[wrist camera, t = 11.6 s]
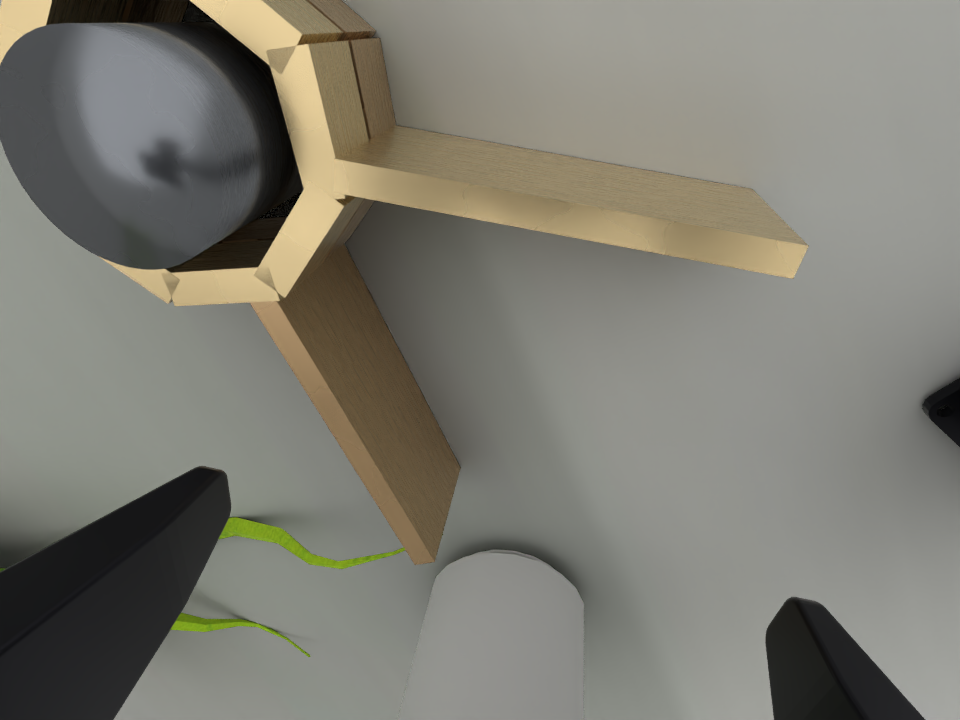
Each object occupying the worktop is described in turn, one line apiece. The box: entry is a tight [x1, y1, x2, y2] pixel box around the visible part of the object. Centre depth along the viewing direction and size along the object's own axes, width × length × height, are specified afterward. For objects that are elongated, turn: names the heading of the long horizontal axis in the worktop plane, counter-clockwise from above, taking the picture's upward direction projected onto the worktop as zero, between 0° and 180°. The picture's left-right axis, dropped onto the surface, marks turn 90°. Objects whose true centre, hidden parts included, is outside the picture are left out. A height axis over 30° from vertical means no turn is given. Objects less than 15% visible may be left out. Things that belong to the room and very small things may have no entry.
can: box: [397, 549, 584, 720], centre depth 23 cm, size 8×8×12 cm
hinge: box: [0, 0, 809, 565], centre depth 17 cm, size 18×16×5 cm
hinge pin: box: [0, 22, 304, 270], centre depth 15 cm, size 5×5×7 cm
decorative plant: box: [0, 517, 443, 657], centre depth 25 cm, size 18×30×15 cm, turn 79°
